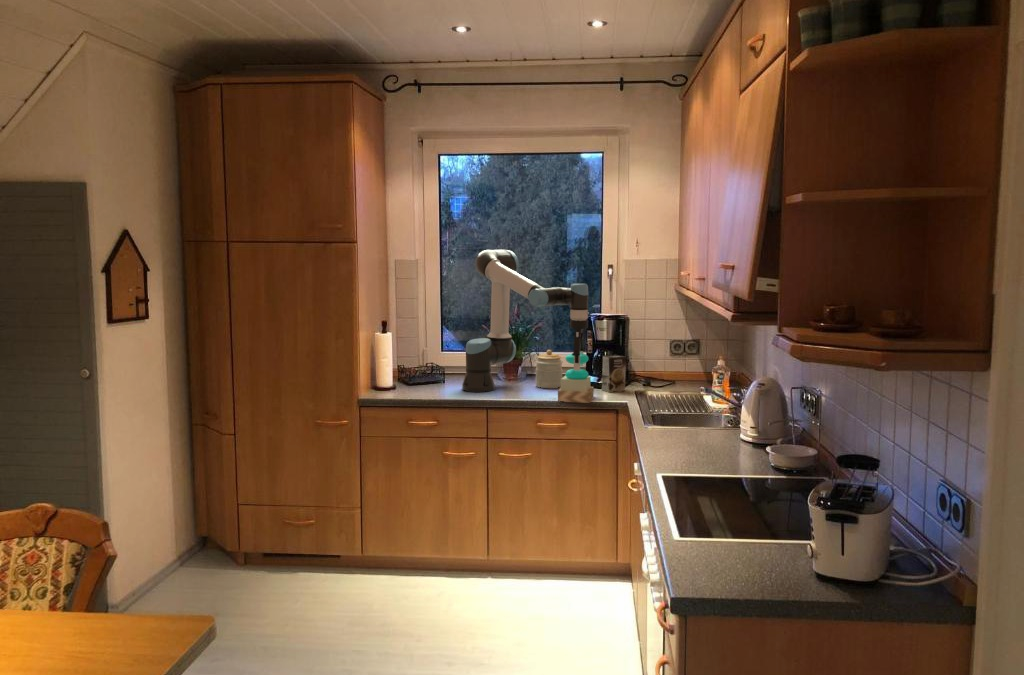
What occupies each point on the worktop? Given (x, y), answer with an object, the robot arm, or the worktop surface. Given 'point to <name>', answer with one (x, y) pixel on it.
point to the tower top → (575, 384)
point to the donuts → (577, 374)
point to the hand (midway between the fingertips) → (578, 368)
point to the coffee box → (613, 373)
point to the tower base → (576, 396)
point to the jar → (548, 370)
